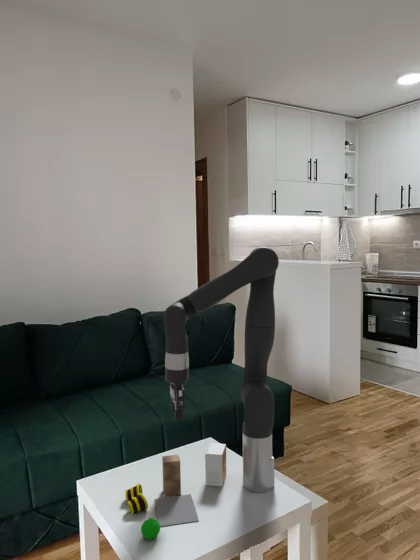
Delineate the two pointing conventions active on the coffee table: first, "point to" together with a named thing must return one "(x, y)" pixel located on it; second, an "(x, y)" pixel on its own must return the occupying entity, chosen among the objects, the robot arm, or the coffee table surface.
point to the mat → (175, 510)
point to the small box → (215, 464)
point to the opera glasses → (136, 499)
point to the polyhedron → (150, 528)
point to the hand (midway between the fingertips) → (177, 415)
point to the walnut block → (171, 475)
